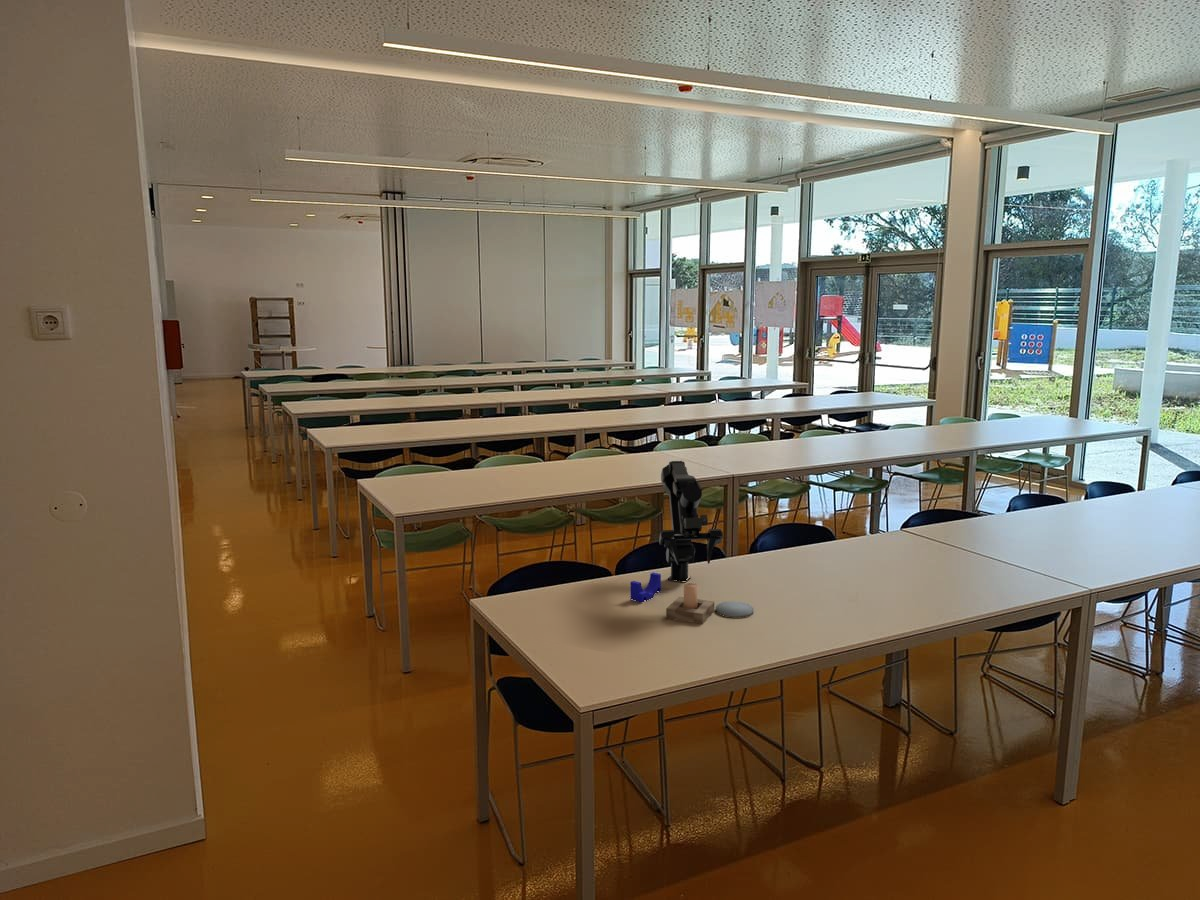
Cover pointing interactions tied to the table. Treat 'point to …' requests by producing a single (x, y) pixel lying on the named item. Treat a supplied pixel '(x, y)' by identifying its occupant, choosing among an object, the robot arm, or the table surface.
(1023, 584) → the table surface
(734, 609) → the slate mat
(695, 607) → the post
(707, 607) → the pocket block
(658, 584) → the cable clip
